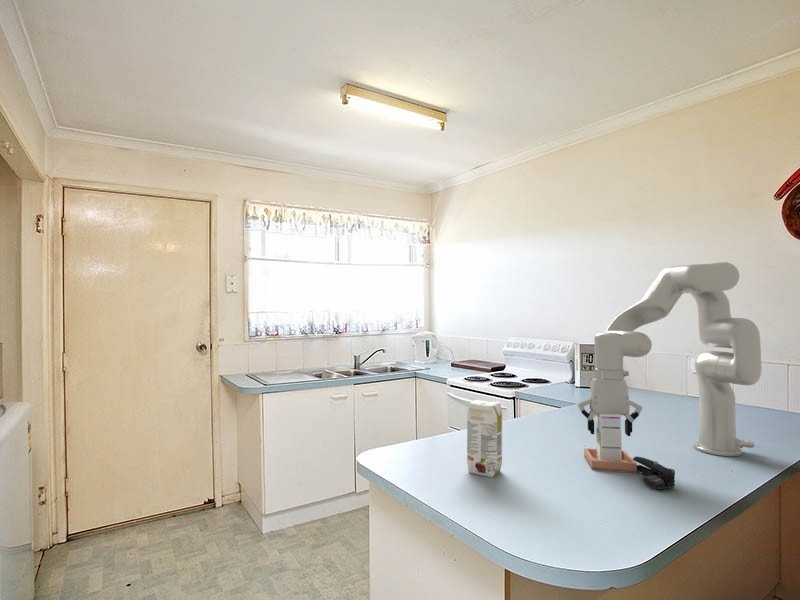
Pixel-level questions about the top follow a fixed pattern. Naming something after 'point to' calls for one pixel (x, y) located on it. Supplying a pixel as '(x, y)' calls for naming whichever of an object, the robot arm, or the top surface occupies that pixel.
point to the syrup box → (608, 437)
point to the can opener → (655, 474)
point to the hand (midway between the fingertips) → (609, 433)
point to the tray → (610, 462)
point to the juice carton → (484, 438)
